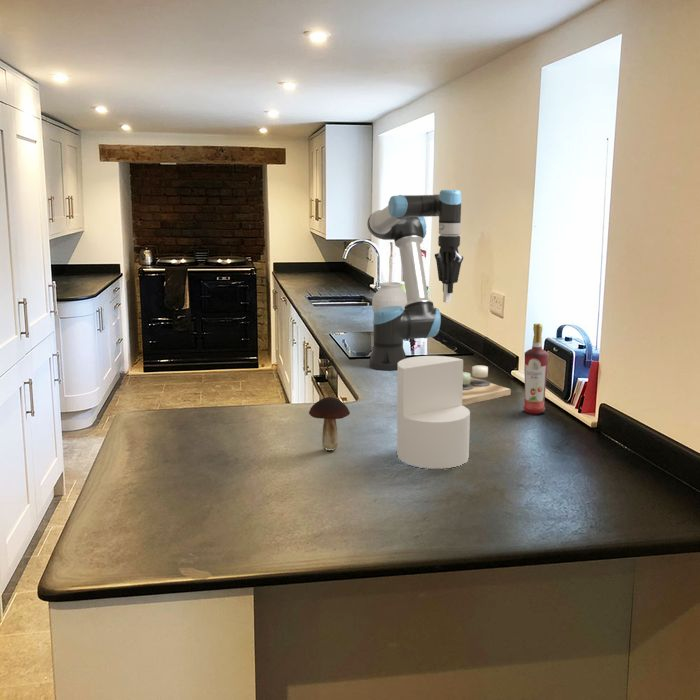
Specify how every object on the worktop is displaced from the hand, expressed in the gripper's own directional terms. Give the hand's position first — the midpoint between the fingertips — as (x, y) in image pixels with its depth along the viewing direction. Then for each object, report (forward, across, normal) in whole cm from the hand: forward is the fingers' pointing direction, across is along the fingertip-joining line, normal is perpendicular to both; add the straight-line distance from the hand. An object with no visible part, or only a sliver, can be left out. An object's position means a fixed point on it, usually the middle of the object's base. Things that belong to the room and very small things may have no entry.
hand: (447, 301), depth 256 cm
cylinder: (+28, +56, -52) cm, 82 cm away
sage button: (+25, +16, -6) cm, 30 cm away
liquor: (+29, +45, -2) cm, 53 cm away
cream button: (+24, +16, +2) cm, 29 cm away
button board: (+29, +16, -6) cm, 33 cm away
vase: (+31, -79, +33) cm, 91 cm away
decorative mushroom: (+28, +38, -72) cm, 86 cm away
